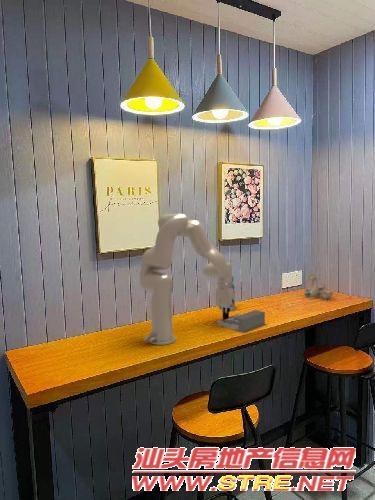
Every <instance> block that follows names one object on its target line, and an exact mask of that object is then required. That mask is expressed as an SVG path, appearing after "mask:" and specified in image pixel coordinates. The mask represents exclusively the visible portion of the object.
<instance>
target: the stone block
mask: <svg viewBox="0 0 375 500" xmlns="http://www.w3.org/2000/svg"><path fill="white" fill-rule="evenodd" d="M239 315H240V314H239ZM239 315H236V314H235V315H231V316H229V318H228V319H225V320H223V321H224V322H229V323H233V324H237V325H239V324H238V321H236V320H234V317H237V316H239Z"/></svg>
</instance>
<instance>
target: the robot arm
mask: <svg viewBox="0 0 375 500" xmlns="http://www.w3.org/2000/svg"><path fill="white" fill-rule="evenodd" d="M157 225H158V228H159V230H158V232H157V234H156V236H155V237H156V238H155V243H154V247H151V248H148V249H147V250H145V251H144V253H143V255H142V256H141V263H140V269H139V270H140V272H139V285H140V287H141V289H143V290H144V291H147V292H149V293H150V292H151V293H152V296H151V297H150V320H151V322H150V323H151V325H150V326H151V331H150V332H149V334H148V335H146V336H144V337H143V338H142V339H143V341H144V342H147V341H148V342H149V343H150V344H152V345H156V346H163V345H171V344H173V343H175V342H176V341H177V336H176V335H174V334H173V311H172V308H173V307H172V295H173V294H172V293H173V288H174V287H173V285H174V282H173V279H172V277H171V276H170V275H169V274H167V273H165V272H159V270H162V271H163V270H169V269H170V268H171V266H172V263H173V255H174V249H175V248H174V246H175V242H176V239H177V237H181V238H188V239H189V241H190V243H191V245H192V248H193V250H194V251H195V252H196V254H197V255H199V256H200V257H202V258H204V259H206V260H208V261H209V262H210V263H207V264H205V265H204V267H203V270H202V272H203V275H204V276H205V277H206V278H209V279H210V278H211V279H217V282H216V285H217V287H216V291H215V305H216V307H217V308H219V309H220V310H221V311H220V312H221V313H222V321H224V320H225V319H228V318H229V317H230V312H231V311H230V310H232V311H234V310H235V309H234V306H235V307H236V305H235V304H236V302H235V301H236V300H235V297H234V291H235V289H234V290H233V288H232V283H233V282H232V276H233V265H232V264H233V263H231V262H228V261H226V258H225V257H224V255H223V254H222V253H221V252H220V251H219V250H218V249H217V248H216V247H214V245H213V244H212V243H211V241H210V239H209V237H208V235H207V233H206V231H205V228H204V226H203V224H202V222H200V221H199V220H196V219H189V218H188V216H187V215H185V214H184V213H164V214H162V215H160V216H159V218H158V220H157ZM230 307H231V308H230Z"/></svg>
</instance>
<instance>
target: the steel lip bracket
mask: <svg viewBox="0 0 375 500" xmlns="http://www.w3.org/2000/svg"><path fill="white" fill-rule="evenodd" d="M235 315H239V316H237V317H234V320H236V321H238V324H239V325H237V324H233V323H229V322H224V320H219V319H218V320H217V321H216V325H217V326H218V327H222V328H226V329H231V330H234V331H238V332H239V333H247V332H248V331H251V330H254V329H256V328H260V327H261V326H264V325H265V324H266V316H265V315H266V314H265V311H262V310H261V311H260V310H255V309H254V310H251V311H249V312H246V313H242V314H240V313H239V314H238V313H236V314H235Z"/></svg>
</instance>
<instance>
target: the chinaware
mask: <svg viewBox="0 0 375 500" xmlns="http://www.w3.org/2000/svg"><path fill="white" fill-rule="evenodd" d="M317 282H318V276H316V275H315V274H314V273H313V272H312V273H311V274H310V275H308V276H307V286H306V288H305V290H304V293H303V294H304V295H305V298H307V299H319V298H320V297H321V298H322V299H323V300H324V301H329V300H330V299H331V298H332V297H333V294H334V290H333V291H332V290H331V291H330V290H327V289H326V286H325V285H319V284H318V283H317ZM325 289H326V290H325Z"/></svg>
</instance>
